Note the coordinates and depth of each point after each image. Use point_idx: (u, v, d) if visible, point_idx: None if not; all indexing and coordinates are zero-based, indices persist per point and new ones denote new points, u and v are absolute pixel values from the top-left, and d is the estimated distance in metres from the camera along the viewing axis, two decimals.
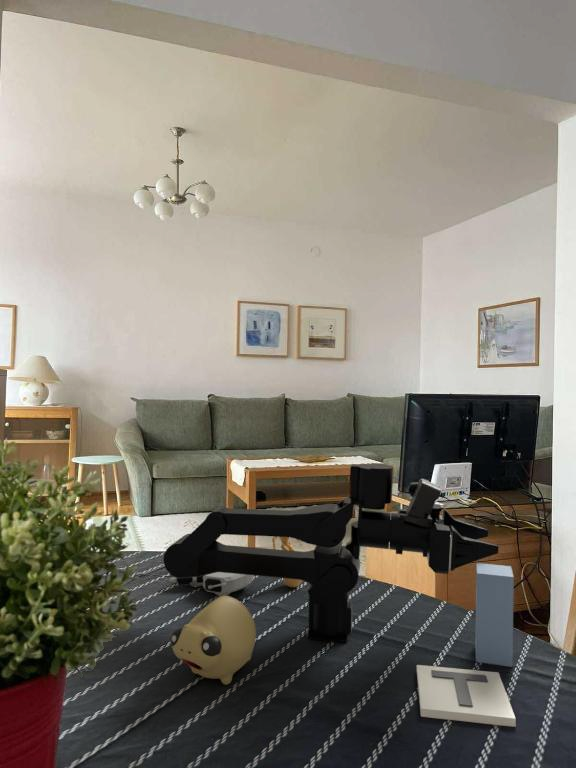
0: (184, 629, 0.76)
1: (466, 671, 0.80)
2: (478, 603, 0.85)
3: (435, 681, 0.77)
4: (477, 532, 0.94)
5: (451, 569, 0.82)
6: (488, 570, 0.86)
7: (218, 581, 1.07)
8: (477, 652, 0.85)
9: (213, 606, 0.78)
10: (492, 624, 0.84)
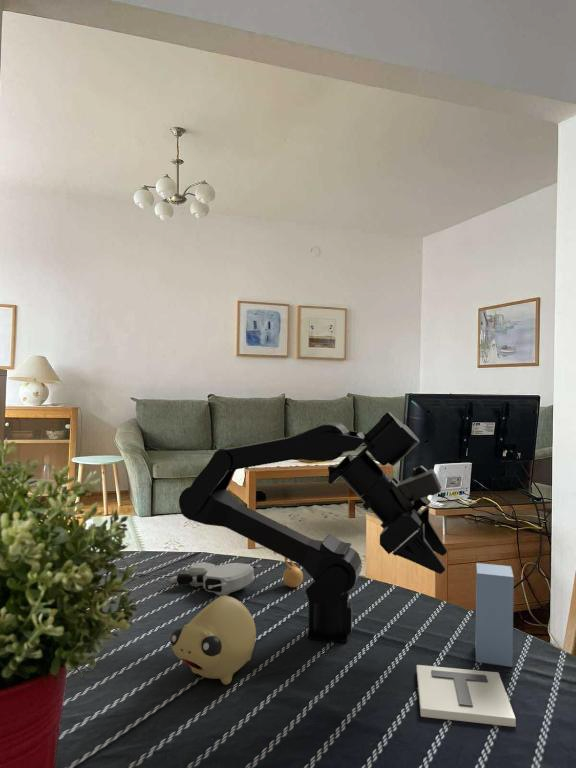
0: (184, 629, 0.76)
1: (466, 671, 0.80)
2: (478, 603, 0.85)
3: (435, 681, 0.77)
4: (437, 546, 0.93)
5: (394, 553, 0.83)
6: (488, 570, 0.86)
7: (218, 581, 1.07)
8: (477, 652, 0.85)
9: (213, 606, 0.78)
10: (492, 624, 0.84)
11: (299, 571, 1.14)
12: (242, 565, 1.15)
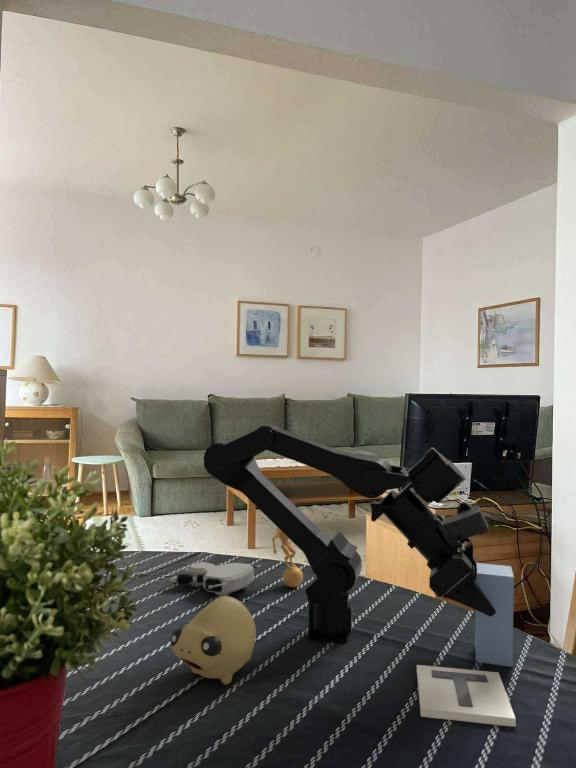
0: (184, 629, 0.76)
1: (466, 671, 0.80)
2: None
3: (435, 681, 0.77)
4: None
5: (444, 596, 0.81)
6: (488, 570, 0.86)
7: (218, 581, 1.07)
8: (477, 652, 0.85)
9: (213, 606, 0.78)
10: (492, 624, 0.84)
11: (299, 571, 1.14)
12: (242, 565, 1.15)
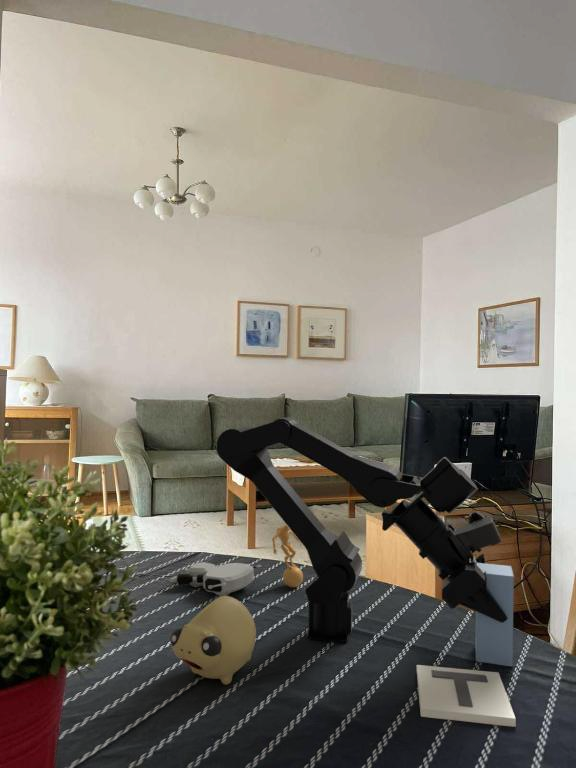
0: (184, 629, 0.76)
1: (466, 671, 0.80)
2: None
3: (435, 681, 0.77)
4: None
5: None
6: (488, 569, 0.86)
7: (218, 581, 1.07)
8: (477, 652, 0.85)
9: (213, 606, 0.78)
10: (492, 623, 0.84)
11: (299, 571, 1.14)
12: (242, 565, 1.15)
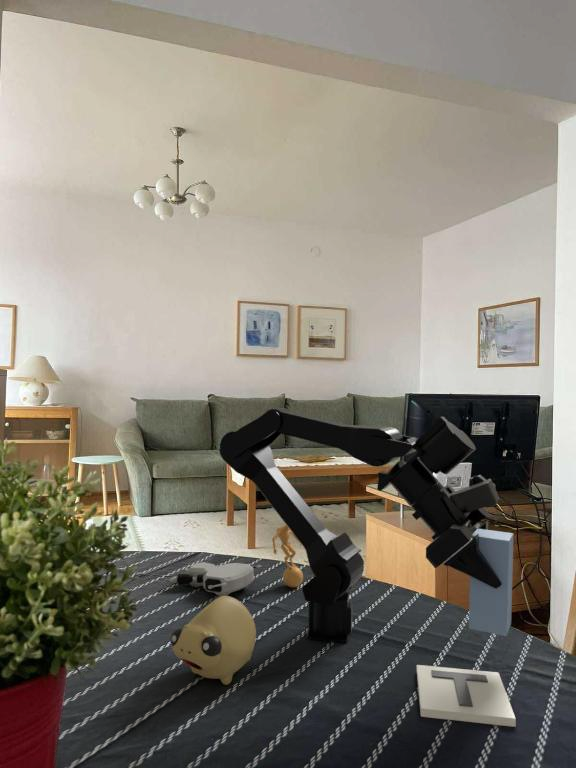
0: (184, 629, 0.76)
1: (466, 671, 0.80)
2: None
3: (435, 681, 0.77)
4: None
5: (445, 564, 0.79)
6: (485, 534, 0.82)
7: (218, 581, 1.07)
8: (470, 618, 0.81)
9: (213, 606, 0.78)
10: (486, 589, 0.80)
11: (299, 571, 1.14)
12: (242, 565, 1.15)
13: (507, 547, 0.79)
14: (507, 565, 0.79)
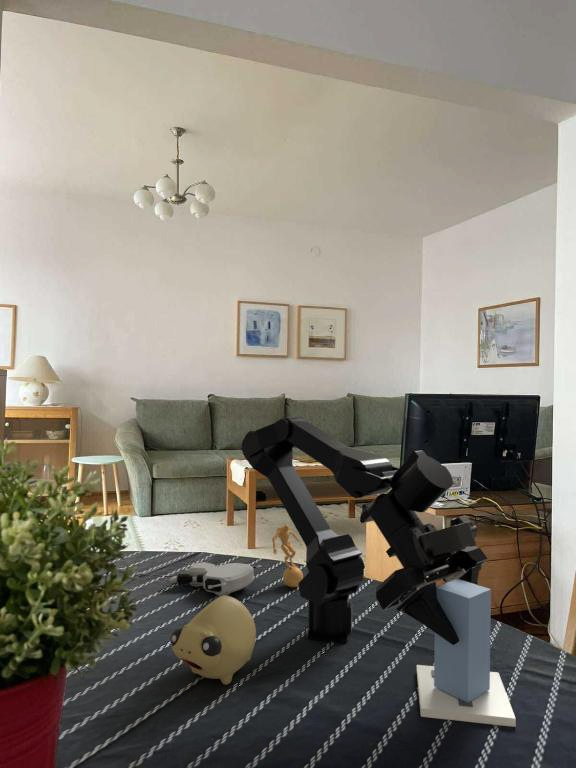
0: (184, 629, 0.76)
1: None
2: None
3: None
4: None
5: (396, 609, 0.74)
6: (455, 586, 0.75)
7: (218, 581, 1.07)
8: (435, 676, 0.75)
9: (213, 606, 0.78)
10: (449, 648, 0.74)
11: (299, 571, 1.14)
12: (242, 565, 1.14)
13: (467, 605, 0.72)
14: (467, 625, 0.72)
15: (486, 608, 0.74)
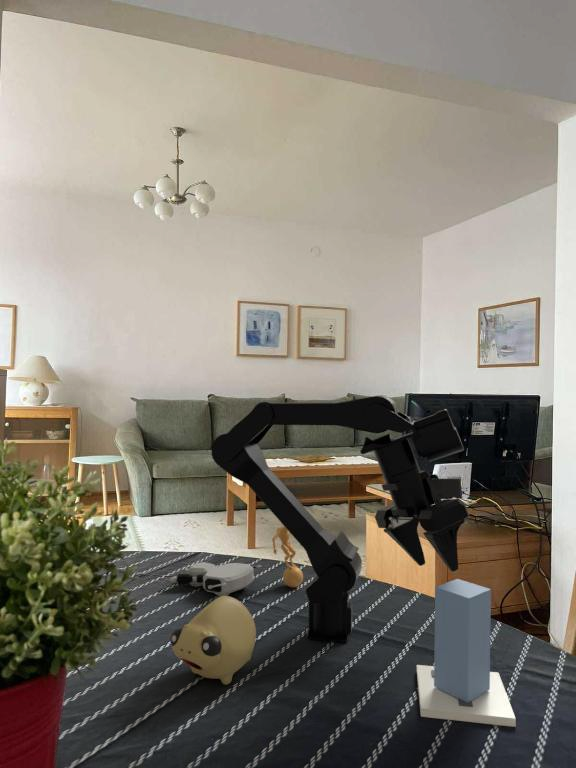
0: (184, 629, 0.76)
1: None
2: (436, 621, 0.75)
3: None
4: (419, 554, 0.93)
5: (435, 533, 0.81)
6: (455, 586, 0.75)
7: (218, 581, 1.07)
8: (435, 676, 0.75)
9: (213, 606, 0.78)
10: (449, 648, 0.74)
11: (299, 571, 1.14)
12: (242, 565, 1.14)
13: (467, 605, 0.72)
14: (467, 625, 0.72)
15: (486, 608, 0.74)
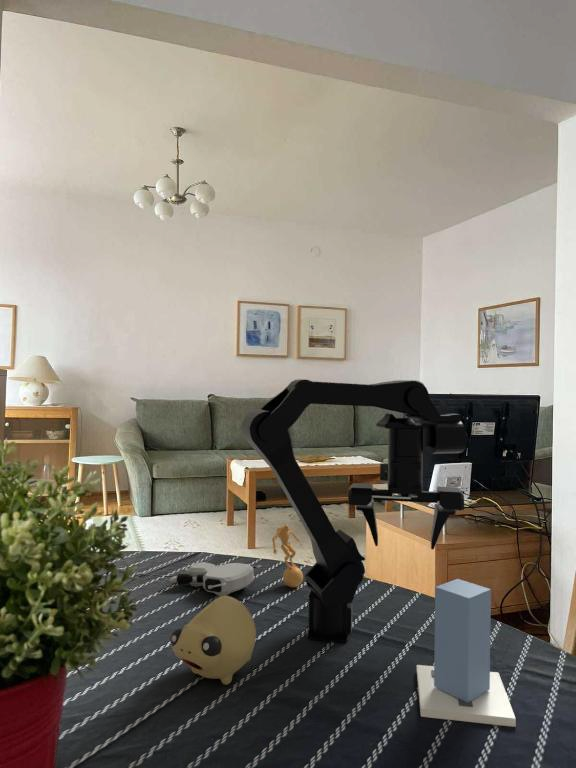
0: (184, 629, 0.76)
1: None
2: (436, 621, 0.75)
3: None
4: (377, 535, 0.98)
5: (455, 512, 0.93)
6: (455, 586, 0.75)
7: (218, 581, 1.07)
8: (435, 676, 0.75)
9: (213, 606, 0.78)
10: (449, 648, 0.74)
11: (299, 571, 1.14)
12: (242, 565, 1.14)
13: (467, 605, 0.72)
14: (467, 625, 0.72)
15: (486, 608, 0.74)
